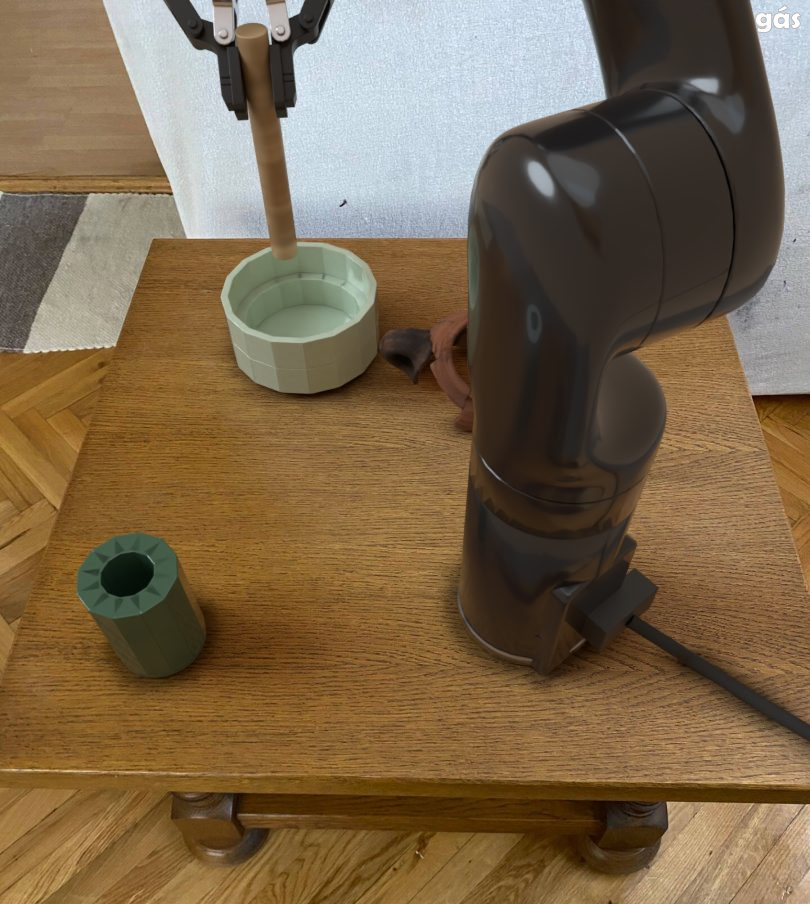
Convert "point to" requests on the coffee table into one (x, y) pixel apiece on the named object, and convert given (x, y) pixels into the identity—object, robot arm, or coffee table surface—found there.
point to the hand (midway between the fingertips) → (262, 114)
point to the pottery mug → (415, 351)
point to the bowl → (302, 318)
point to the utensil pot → (142, 604)
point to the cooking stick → (267, 138)
